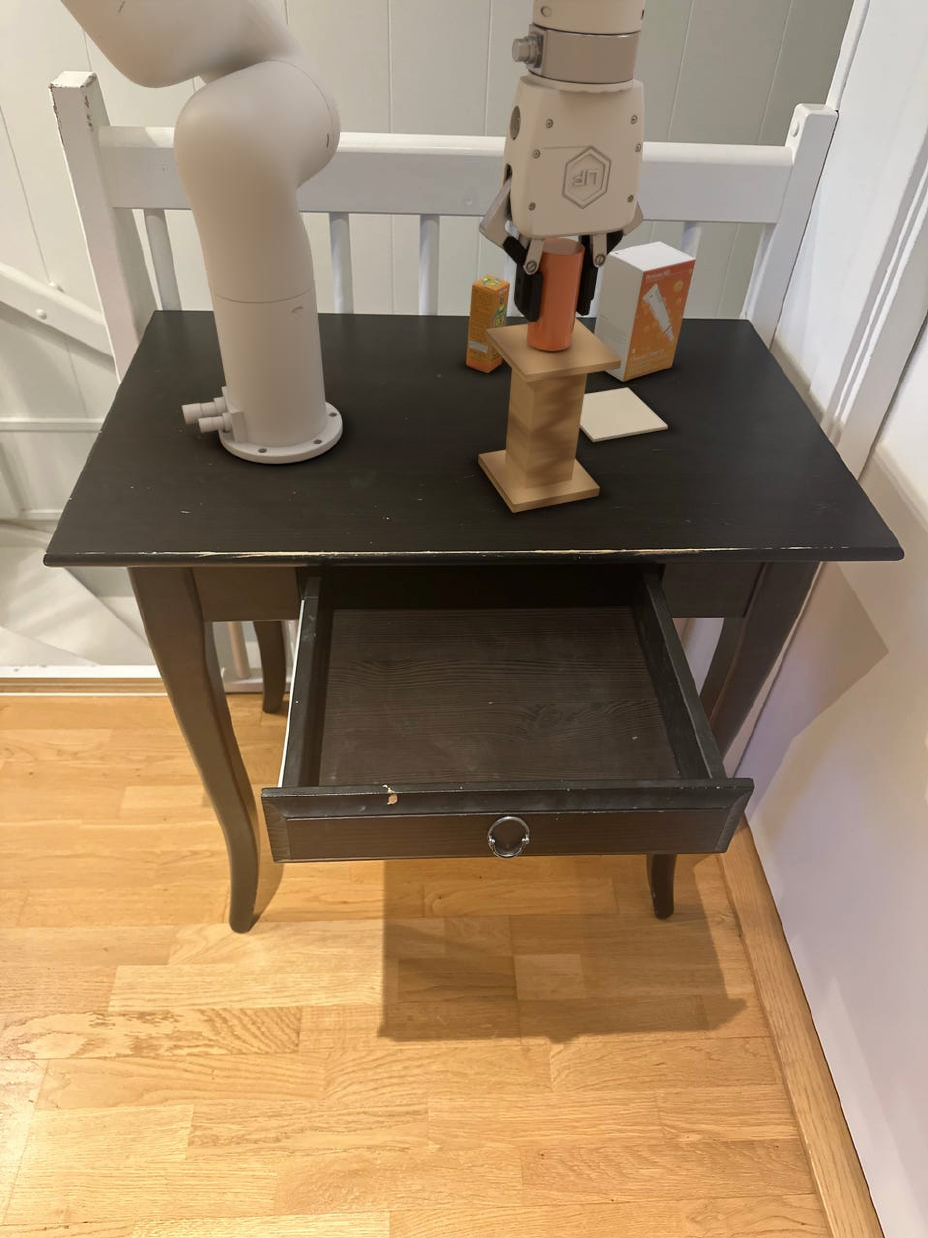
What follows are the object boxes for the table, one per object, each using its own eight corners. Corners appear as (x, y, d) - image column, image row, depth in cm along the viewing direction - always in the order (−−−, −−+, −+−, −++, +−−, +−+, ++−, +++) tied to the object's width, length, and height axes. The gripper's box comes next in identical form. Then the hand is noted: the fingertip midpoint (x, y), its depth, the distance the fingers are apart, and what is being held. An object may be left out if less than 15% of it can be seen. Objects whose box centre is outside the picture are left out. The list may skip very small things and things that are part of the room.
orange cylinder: (537, 353, 71) (548, 257, 66) (519, 333, 74) (527, 239, 68) (579, 347, 72) (593, 252, 67) (560, 328, 75) (571, 235, 69)
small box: (623, 383, 98) (643, 270, 89) (588, 361, 102) (604, 251, 93) (673, 367, 101) (698, 257, 92) (638, 347, 105) (658, 239, 96)
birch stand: (512, 513, 78) (525, 374, 69) (478, 462, 84) (485, 328, 75) (598, 496, 81) (622, 359, 71) (558, 448, 87) (575, 316, 77)
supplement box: (489, 374, 98) (495, 289, 91) (465, 366, 100) (468, 281, 93) (504, 364, 100) (510, 280, 94) (480, 356, 102) (485, 272, 95)
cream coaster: (593, 442, 88) (593, 438, 88) (556, 401, 94) (557, 398, 94) (667, 429, 91) (668, 425, 90) (627, 390, 97) (627, 387, 96)
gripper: (492, 71, 54) (476, 343, 66) (713, 65, 59) (660, 319, 71) (452, 48, 59) (445, 305, 71) (659, 44, 64) (618, 285, 76)
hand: (552, 310), depth 71 cm, fingers closed on orange cylinder, 4 cm apart
